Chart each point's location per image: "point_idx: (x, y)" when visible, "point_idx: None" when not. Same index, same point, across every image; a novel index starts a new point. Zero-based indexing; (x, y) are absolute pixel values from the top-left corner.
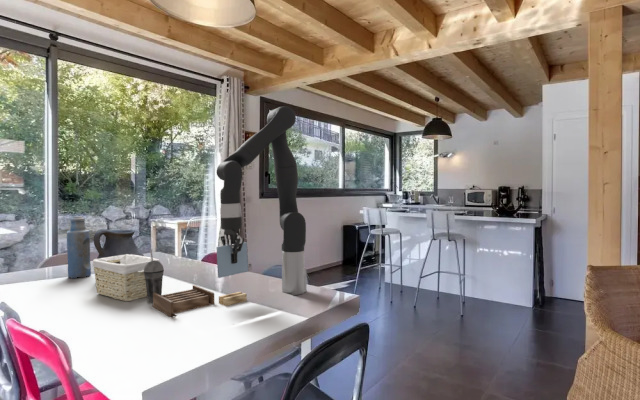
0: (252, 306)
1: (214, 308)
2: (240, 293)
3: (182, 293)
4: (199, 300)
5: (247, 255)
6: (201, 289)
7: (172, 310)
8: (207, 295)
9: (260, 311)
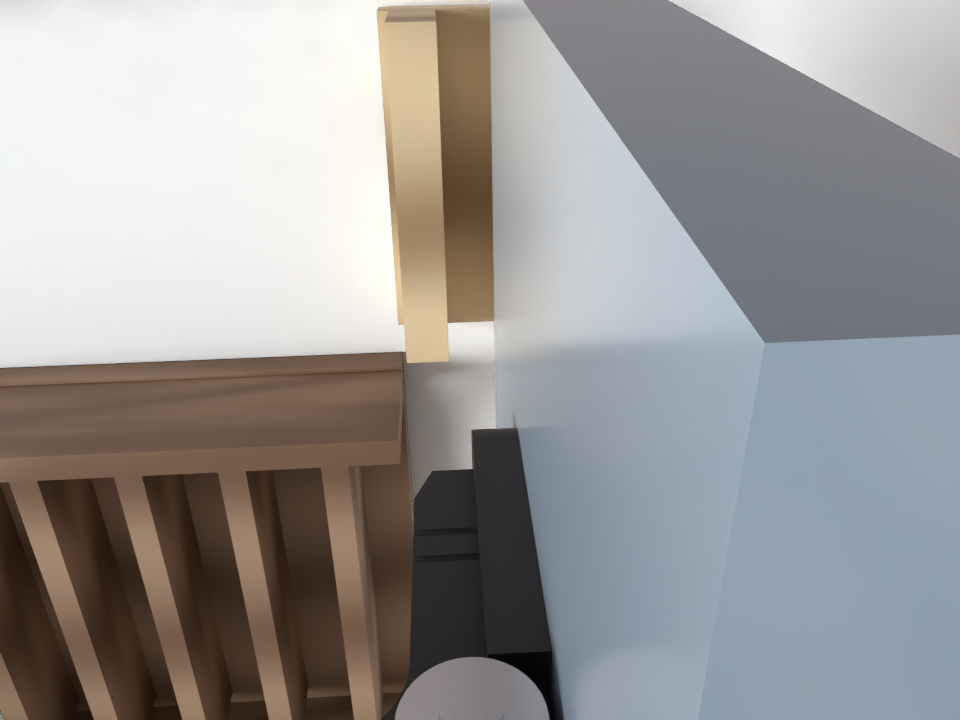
0: (727, 25)
1: (458, 377)
2: (435, 46)
3: (63, 617)
4: (358, 531)
5: (699, 22)
6: (96, 474)
7: None
8: (334, 469)
9: (953, 64)
